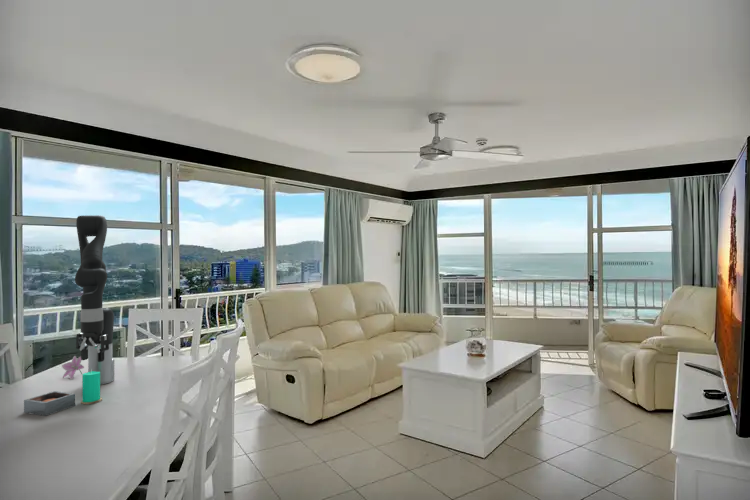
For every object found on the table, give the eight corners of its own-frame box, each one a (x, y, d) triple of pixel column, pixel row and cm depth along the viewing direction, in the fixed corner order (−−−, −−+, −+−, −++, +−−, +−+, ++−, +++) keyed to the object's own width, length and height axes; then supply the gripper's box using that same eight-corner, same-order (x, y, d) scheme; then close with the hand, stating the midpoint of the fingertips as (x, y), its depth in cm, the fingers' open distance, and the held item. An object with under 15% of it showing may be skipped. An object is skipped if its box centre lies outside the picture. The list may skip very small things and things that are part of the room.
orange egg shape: (52, 404, 165) (52, 397, 165) (61, 405, 163) (61, 399, 163) (38, 408, 160) (38, 402, 160) (47, 410, 158) (47, 403, 158)
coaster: (93, 397, 174) (93, 396, 174) (106, 399, 172) (106, 397, 172) (76, 403, 167) (76, 401, 167) (89, 405, 165) (89, 403, 165)
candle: (91, 402, 166) (91, 371, 166) (78, 401, 167) (78, 370, 167) (104, 397, 172) (104, 367, 172) (91, 396, 173) (91, 366, 173)
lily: (62, 377, 208) (53, 362, 204) (88, 363, 216) (81, 348, 211) (69, 389, 201) (60, 374, 196) (96, 375, 208) (88, 360, 203)
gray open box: (54, 402, 168) (54, 391, 168) (75, 405, 165) (75, 393, 165) (23, 412, 158) (23, 400, 158) (45, 415, 155) (45, 403, 155)
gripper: (114, 318, 171) (114, 359, 171) (87, 317, 176) (88, 356, 176) (96, 322, 164) (97, 364, 164) (69, 320, 169) (69, 361, 169)
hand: (92, 360), depth 170 cm, fingers open, 8 cm apart
